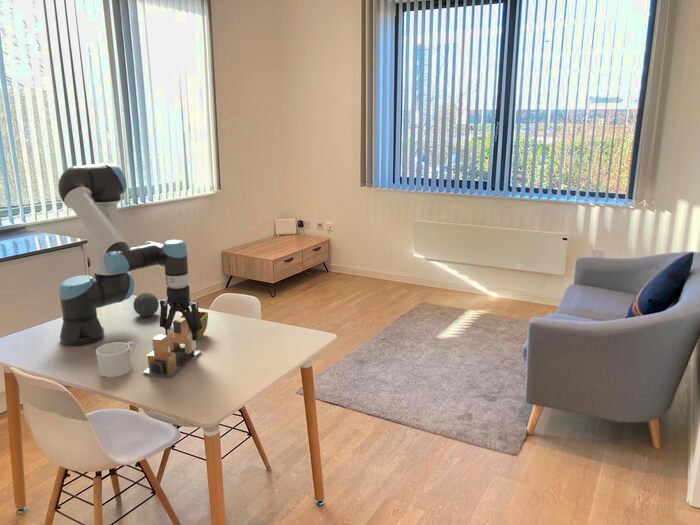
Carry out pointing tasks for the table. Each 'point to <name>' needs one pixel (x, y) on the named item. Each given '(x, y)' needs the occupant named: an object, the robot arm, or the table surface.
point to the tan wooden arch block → (180, 335)
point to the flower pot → (203, 321)
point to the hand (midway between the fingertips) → (182, 347)
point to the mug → (114, 358)
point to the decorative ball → (146, 304)
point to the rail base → (167, 358)
